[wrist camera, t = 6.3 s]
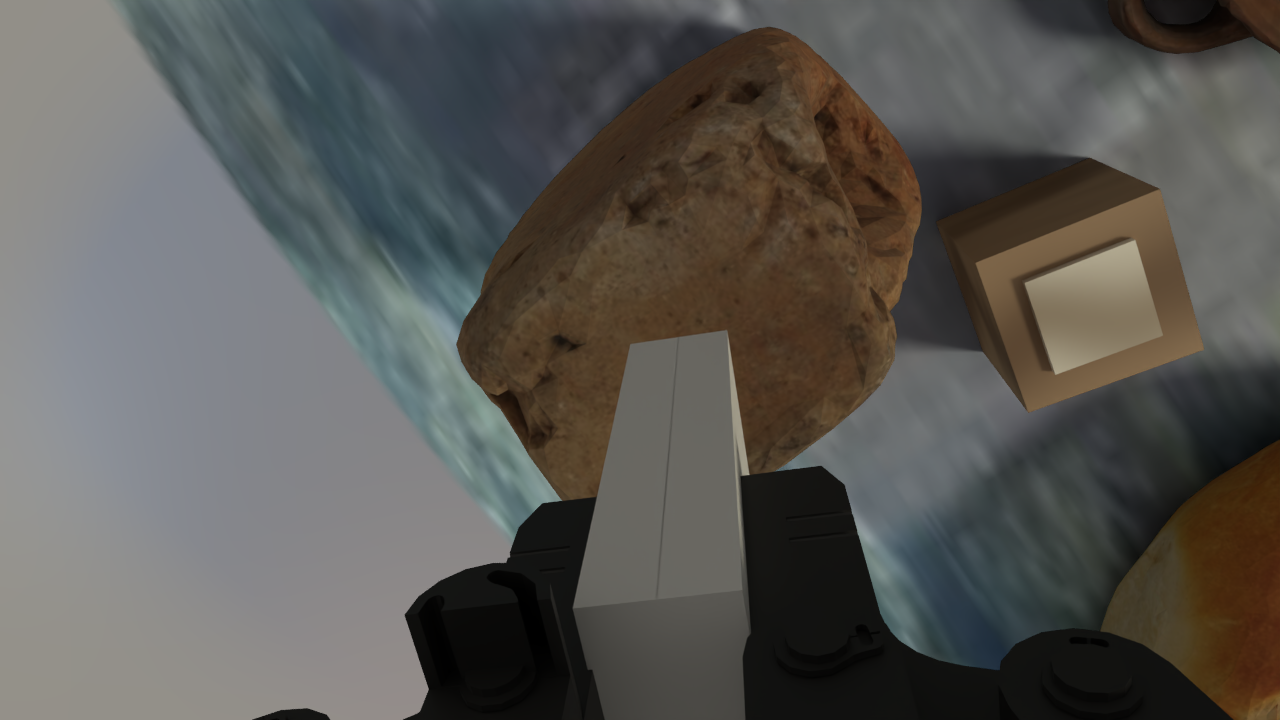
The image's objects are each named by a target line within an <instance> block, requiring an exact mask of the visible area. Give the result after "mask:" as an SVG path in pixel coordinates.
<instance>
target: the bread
mask: <svg viewBox="0 0 1280 720" xmlns="http://www.w3.org/2000/svg"><path fill="white" fill-rule="evenodd" d="M1100 631H1101V632H1109V633H1112V634H1115V635H1118V636H1121V637H1123V638H1126V639H1129V640H1132V641H1135V642H1138V643H1141V644H1143V645H1145V646H1146V647H1148V648H1149V649H1151V650H1152V651H1154V652H1155V653H1157V654H1158V655H1160V656H1161V657H1163V658H1164V659H1166V660H1167V661H1169V662H1170V663H1172V664H1173V665H1174V666H1175V667H1176V668H1177V669H1178V670H1179V671H1180V672H1182V673H1183V674H1184V675H1185V676H1186V677H1187V678H1188V679H1189V680H1190V681H1192V682H1193V683H1194V684H1195V685H1196V686H1197V687H1198V688H1199V689H1200V690H1201V691H1203V692H1204V693H1205V694H1206V695H1207V696H1208V697H1209V698H1210V699H1211V700H1213V701H1214V702H1215V703H1216V704H1217V705H1218V706H1219V707H1220V708H1221V709H1223V710H1224V711H1225V712H1226V713H1227V714H1228V715H1229V716H1230V717H1231V718H1233V719H1234V720H1280V440H1278V441H1276V442H1274V443H1272V444H1271V445H1269V446H1267V447H1265V448H1264V449H1262V450H1260V451H1259V452H1257V453H1256V454H1254V455H1253V456H1251V457H1249V458H1248V459H1246V460H1245V461H1243V462H1241V463H1240V464H1238V465H1236V466H1235V467H1233V468H1231V469H1230V470H1228V471H1227V472H1225V473H1223V474H1222V475H1220V476H1218V477H1217V478H1215V479H1214V480H1212V481H1211V482H1210V483H1208V484H1207V485H1206V486H1204V487H1203V488H1202V489H1201V490H1199V491H1198V492H1197V493H1196V494H1194V495H1193V496H1192V497H1191V498H1189V499H1188V500H1187V501H1186V502H1185V503H1184V504H1182V505H1181V506H1180V507H1179V508H1178V509H1177V510H1176V512H1175V513H1174V514H1173V515H1172V516H1171V518H1170V519H1169V520H1168V521H1167V523H1166V524H1165V525H1164V526H1163V527H1162V529H1161V530H1160V531H1159V533H1158V534H1157V535H1156V537H1155V538H1154V540H1153V541H1152V542H1151V544H1150V545H1149V546H1148V548H1147V549H1146V550H1145V552H1144V553H1143V554H1142V555H1141V557H1140V558H1139V559H1138V560H1137V561H1136V562H1135V564H1134V565H1133V566H1132V568H1131V569H1130V570H1129V571H1128V573H1127V574H1126V575H1125V577H1124V578H1123V579H1122V581H1121V582H1120V584H1119V585H1118V586H1117V588H1116V590H1115V593H1114V595H1113V597H1112V599H1111V601H1110V604H1109V606H1108V608H1107V612H1106V615H1105V618H1104V621H1103V624H1102V627H1101V630H1100Z"/></svg>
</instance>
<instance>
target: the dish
mask: <svg viewBox="0 0 1280 720" xmlns="http://www.w3.org/2000/svg"><path fill="white" fill-rule="evenodd" d="M1108 9H1109V15H1110V17H1111V19H1112V22H1113V24H1114V25H1115V26H1116V27H1117V28H1118V29H1119V30H1120V31H1121V32H1122V33H1123V34H1124V35H1125V36H1126V37H1128V38H1129V39H1132V40H1134V41H1136V42H1138V43H1140V44H1142V45H1144V46H1146V47H1149V48H1151V49H1154V50H1157V51H1161V52H1166V53H1174V54H1180V53H1193V52H1200V51H1204V50H1207V49H1211V48H1215V47H1218V46H1222V45H1225V44H1229V43H1232V42H1236V41H1239V40H1242V39H1245V38H1249V37H1255V38H1256V39H1258V40H1259V41H1261V42H1263V43H1264V44H1266V45H1268V46H1269V47H1271V48H1273V49H1274V50H1276V51H1277V52H1279V53H1280V0H1217V1H1216V4H1215V5H1214V7H1213V9H1212V11H1211V12H1210V13H1209V14H1208V15H1207V16H1206V17H1205V18H1204V19H1202V20H1200V21H1198V22H1195V23H1191V24H1186V25H1184V24H1164V23H1160V22H1159V21H1157V20H1156V19H1155V18H1154V17H1153V16H1152V15H1151V13H1150V12H1149V11H1148V10H1147V9H1146V6H1145V4H1144V1H1143V0H1108Z"/></svg>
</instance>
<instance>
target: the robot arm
mask: <svg viewBox="0 0 1280 720" xmlns="http://www.w3.org/2000/svg"><path fill="white" fill-rule="evenodd" d="M405 618H406V621H407V624H408V627H409V630H410V632H411V636H412V639H413V642H414V645H415V648H416V651H417V654H418V658H419V661H420V664H421V667H422V670H423V673H424V675H425V679H426V682H427V685H428V688H429V691H428V693H427V696H426V698H425V701H424V703H423V706H422V708H421V711H420V712H419V713H418V714H415V715H413V716H411V717H408V718H406V719H403V720H1234V719H1233V718H1231V717H1230V716H1229V715H1228V714H1227V713H1226V712H1225V711H1224V710H1223V709H1221V708H1220V707H1219V706H1218V705H1217V704H1216V703H1215V702H1214V701H1213V700H1211V699H1210V698H1209V697H1208V696H1207V695H1206V694H1205V693H1204V692H1203V691H1201V690H1200V689H1199V688H1198V687H1197V686H1196V685H1195V684H1194V683H1193V682H1192V681H1190V680H1189V679H1188V678H1187V677H1186V676H1185V675H1184V674H1183V673H1182V672H1180V671H1179V670H1178V669H1177V668H1176V667H1175V666H1174V665H1173V664H1172V663H1170V662H1169V661H1167V660H1166V659H1164V658H1163V657H1161V656H1160V655H1158V654H1157V653H1155V652H1154V651H1152V650H1151V649H1149V648H1148V647H1146V646H1145V645H1143V644H1141V643H1138V642H1135V641H1132V640H1129V639H1126V638H1123V637H1121V636H1118V635H1115V634H1112V633H1109V632H1101V631H1092V630H1084V629H1075V628H1072V629H1064V630H1056V631H1048V632H1041V633H1039V634H1037V635H1034V636H1032V637H1030V638H1028V639H1026V640H1023V641H1021V642H1019V643H1017V644H1015V646H1014V647H1013V648H1012V649H1011V650H1010V651H1009V653H1008V654H1007V655H1006V656H1005V657H1004V658H1003V660H1002V661H1001V664H1000V671H999V670H991V669H984V668H976V667H969V666H962V665H957V664H953V663H948V662H943V661H939V660H936V659H933V658H931V657H928V656H926V655H923V654H921V653H918V652H916V651H915V650H913V649H912V648H910V647H908V646H907V645H905V644H904V643H902V642H901V641H899V640H898V639H897V638H896V637H895V636H894V635H893V633H892V632H891V631H890V630H889V628H888V626H887V625H886V624H885V622H884V620H883V618H882V616H881V614H880V611H879V607H878V604H877V600H876V596H875V593H874V589H873V586H872V582H871V578H870V575H869V571H868V568H867V564H866V560H865V557H864V553H863V550H862V546H861V542H860V539H859V535H858V533H857V528H856V525H855V521H854V517H853V514H852V511H851V507H850V503H849V499H848V496H847V492H846V489H845V485H844V484H843V483H842V482H840V481H839V480H838V479H837V478H836V477H834V476H833V475H832V474H831V473H830V472H828V471H827V470H826V469H825V468H823V467H822V466H816V467H808V468H800V469H792V470H784V471H776V472H768V473H760V474H752V475H749V469H748V462H747V456H746V449H745V443H744V436H743V430H742V423H741V417H740V410H739V404H738V398H737V391H736V385H735V378H734V372H733V365H732V359H731V352H730V346H729V339H728V333H727V330H724V331H718V332H711V333H704V334H697V335H690V336H683V337H676V338H669V339H662V340H655V341H648V342H642V343H635V344H630V349H629V353H628V358H627V362H626V367H625V371H624V376H623V381H622V385H621V390H620V394H619V399H618V403H617V408H616V413H615V417H614V422H613V426H612V431H611V435H610V440H609V445H608V449H607V454H606V458H605V463H604V467H603V472H602V477H601V481H600V486H599V490H598V495H597V497H590V498H582V499H574V500H566V501H558V502H549V503H542V504H541V505H540V506H539V507H538V508H537V509H536V510H535V511H534V512H533V513H532V514H531V515H530V516H529V517H528V518H527V519H526V521H525V522H524V523H523V524H522V525H521V526H520V527H519V528H518V531H517V534H516V537H515V540H514V542H513V545H512V548H511V551H510V558H508V559H507V562H506V563H491V564H487V565H483V566H478V567H474V568H470V569H465V570H463V571H461V572H459V573H457V574H454V575H452V576H450V577H448V578H445V579H443V580H441V581H439V582H438V583H436V584H435V585H434V586H432V587H431V588H430V589H428V590H427V591H425V592H424V593H423V594H422V595H420V596H419V597H418V598H417V599H416V601H415V602H414V603H413V605H412V606H411V607H410V609H409V610H408V611H407V613H406V614H405ZM253 720H330V719H329V717H328V716H327V715H326V714H323V713H320V712H317V711H314V710H311V709H307V708H306V709H291V710H280V711H277V712H274V713H271V714H268V715H265V716H262V717H259V718H256V719H253Z"/></svg>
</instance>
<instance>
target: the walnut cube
mask: <svg viewBox="0 0 1280 720" xmlns="http://www.w3.org/2000/svg"><path fill="white" fill-rule="evenodd" d="M936 223H937V226H938V229H939V231H940V234H941V237H942V240H943V242H944V245H945V248H946V251H947V254H948V256H949V259H950V262H951V265H952V267H953V270H954V273H955V276H956V278H957V281H958V284H959V287H960V289H961V292H962V295H963V298H964V300H965V303H966V306H967V309H968V311H969V314H970V317H971V320H972V322H973V325H974V328H975V331H976V333H977V336H978V339H979V342H980V344H981V347H982V350H983V352H984V354H985V355H986V356H987V358H988V359H989V360H990V362H991V363H992V364H993V366H994V367H995V368H996V370H997V371H998V372H999V374H1000V375H1001V377H1002V378H1003V379H1004V381H1005V382H1006V383H1007V385H1008V386H1009V387H1010V389H1011V390H1012V391H1013V393H1014V394H1015V395H1016V397H1017V398H1018V399H1019V401H1020V402H1021V403H1022V405H1023V406H1024V407H1025V409H1026V410H1027V412H1028V413H1029V412H1032V411H1034V410H1037V409H1040V408H1043V407H1046V406H1048V405H1051V404H1054V403H1057V402H1060V401H1062V400H1065V399H1068V398H1071V397H1073V396H1076V395H1079V394H1082V393H1085V392H1087V391H1090V390H1093V389H1096V388H1099V387H1101V386H1104V385H1107V384H1110V383H1112V382H1115V381H1118V380H1121V379H1124V378H1126V377H1129V376H1132V375H1135V374H1138V373H1140V372H1143V371H1146V370H1149V369H1152V368H1154V367H1157V366H1160V365H1163V364H1165V363H1168V362H1171V361H1174V360H1177V359H1179V358H1182V357H1185V356H1188V355H1191V354H1193V353H1196V352H1199V351H1202V350H1204V347H1203V343H1202V340H1201V336H1200V332H1199V329H1198V325H1197V321H1196V318H1195V314H1194V311H1193V307H1192V303H1191V300H1190V296H1189V292H1188V289H1187V285H1186V282H1185V278H1184V274H1183V271H1182V267H1181V263H1180V260H1179V256H1178V253H1177V249H1176V245H1175V242H1174V238H1173V234H1172V231H1171V227H1170V224H1169V220H1168V216H1167V213H1166V209H1165V205H1164V202H1163V198H1162V195H1161V191H1160V189H1159V188H1156V187H1154V186H1152V185H1150V184H1148V183H1145V182H1143V181H1141V180H1139V179H1136V178H1134V177H1132V176H1130V175H1127V174H1125V173H1123V172H1121V171H1118V170H1116V169H1114V168H1112V167H1110V166H1107V165H1105V164H1103V163H1101V162H1098V161H1096V160H1094V159H1092V158H1088V159H1086V160H1083V161H1081V162H1079V163H1076V164H1074V165H1071V166H1069V167H1066V168H1064V169H1062V170H1059V171H1057V172H1054V173H1052V174H1050V175H1047V176H1045V177H1042V178H1040V179H1037V180H1035V181H1033V182H1030V183H1028V184H1025V185H1023V186H1021V187H1018V188H1016V189H1013V190H1011V191H1009V192H1006V193H1004V194H1001V195H999V196H996V197H994V198H992V199H989V200H987V201H984V202H982V203H980V204H977V205H975V206H972V207H970V208H967V209H965V210H963V211H960V212H958V213H955V214H953V215H951V216H948V217H946V218H943V219H941V220H938V221H936Z"/></svg>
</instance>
